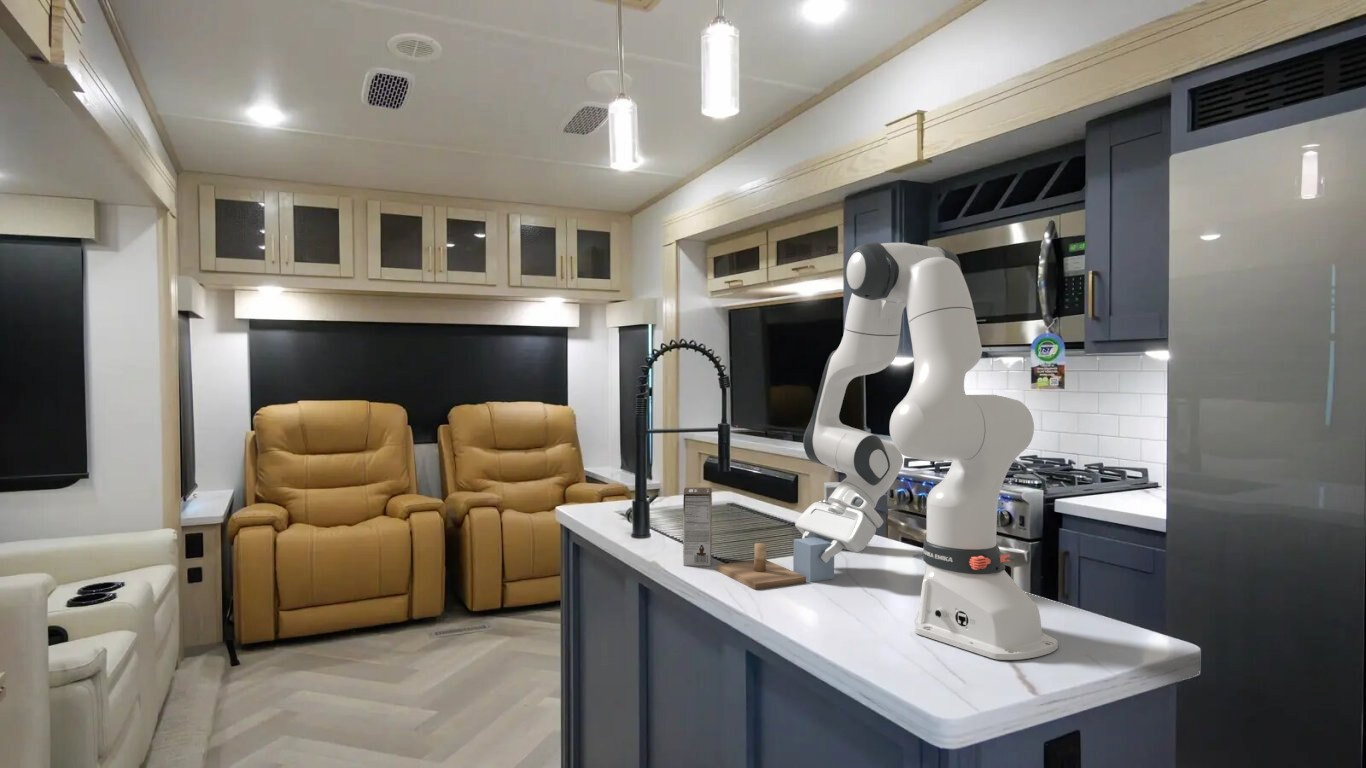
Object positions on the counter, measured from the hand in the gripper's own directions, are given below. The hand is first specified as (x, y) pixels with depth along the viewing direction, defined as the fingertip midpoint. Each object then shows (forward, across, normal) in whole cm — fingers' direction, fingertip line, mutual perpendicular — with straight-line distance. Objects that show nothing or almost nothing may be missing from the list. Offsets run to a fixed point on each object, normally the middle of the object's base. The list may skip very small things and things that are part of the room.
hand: (811, 556), depth 158 cm
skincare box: (-13, -19, +19) cm, 30 cm away
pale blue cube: (+3, 0, +4) cm, 4 cm away
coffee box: (+14, -22, -8) cm, 27 cm away
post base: (+10, -5, -4) cm, 11 cm away
